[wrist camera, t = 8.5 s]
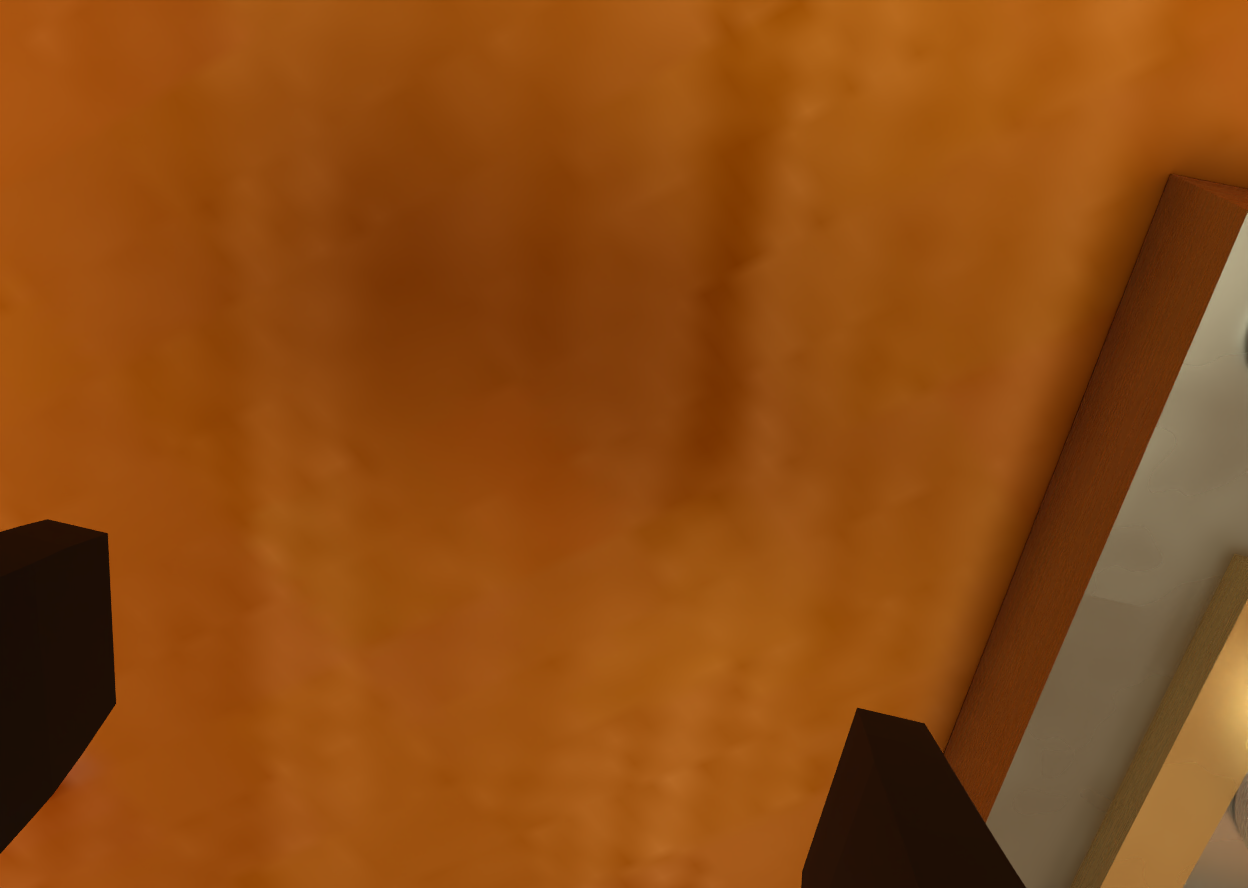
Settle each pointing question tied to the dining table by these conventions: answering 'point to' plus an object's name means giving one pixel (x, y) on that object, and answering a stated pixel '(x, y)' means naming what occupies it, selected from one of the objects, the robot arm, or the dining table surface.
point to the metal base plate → (1134, 593)
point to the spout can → (1242, 810)
